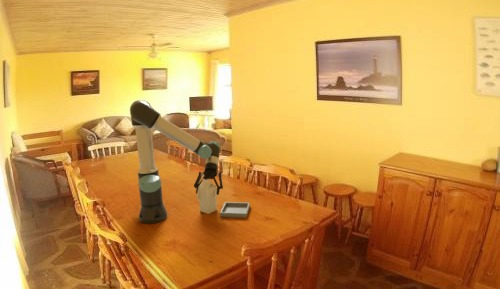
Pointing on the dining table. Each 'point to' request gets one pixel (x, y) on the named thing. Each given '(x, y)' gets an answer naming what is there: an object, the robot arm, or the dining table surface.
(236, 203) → the gray square tray
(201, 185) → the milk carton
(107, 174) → the dining table surface
